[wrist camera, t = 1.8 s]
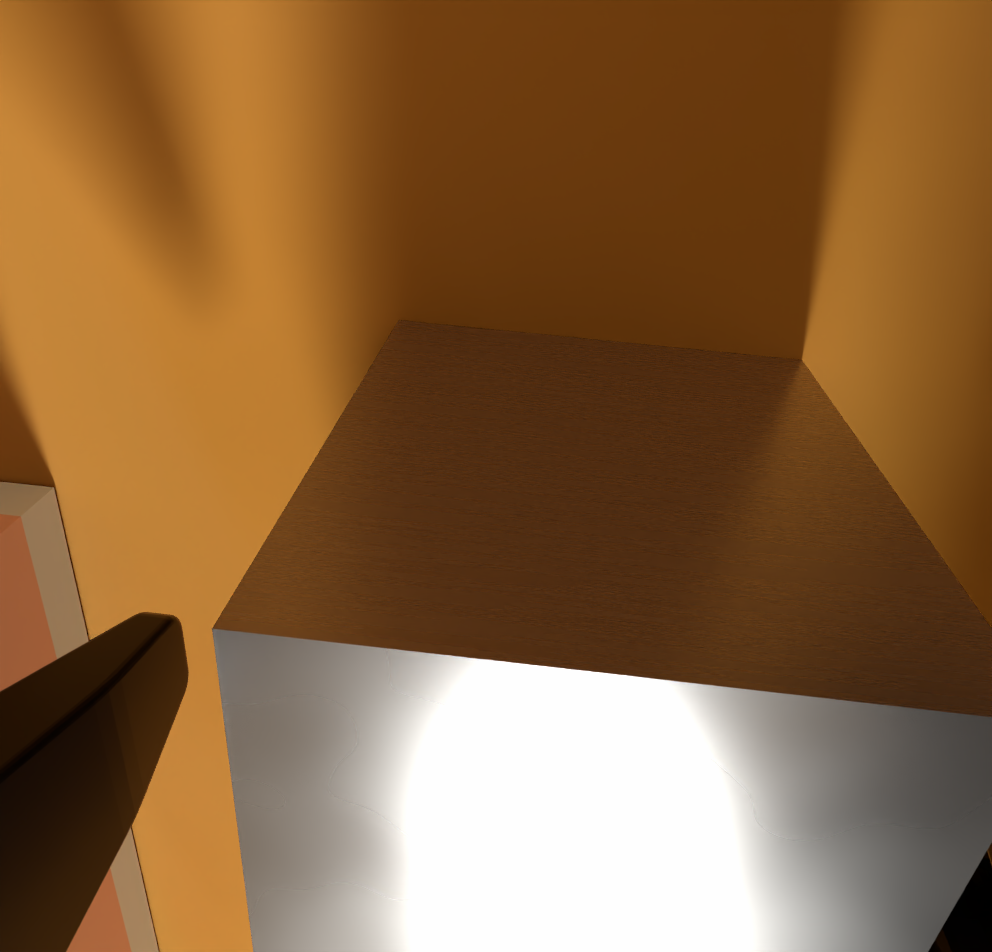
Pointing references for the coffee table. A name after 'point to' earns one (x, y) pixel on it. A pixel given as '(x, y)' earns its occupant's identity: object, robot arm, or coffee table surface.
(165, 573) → the coffee table surface
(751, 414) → the grey metal box
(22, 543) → the square tray
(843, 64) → the coffee table surface
